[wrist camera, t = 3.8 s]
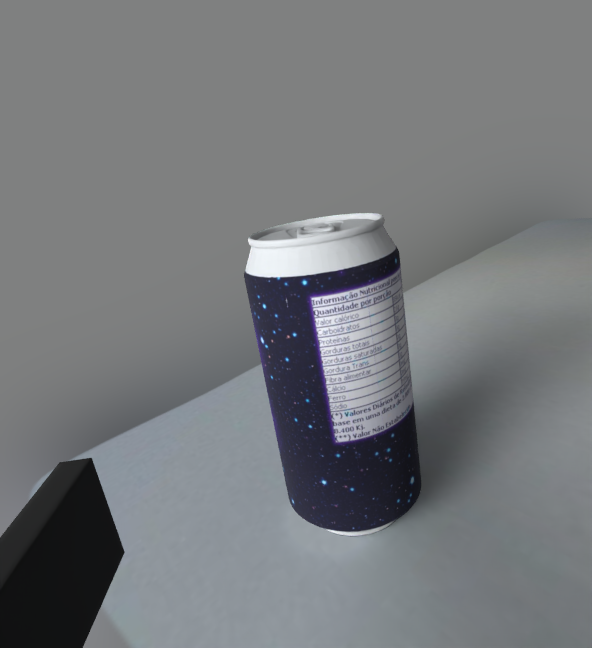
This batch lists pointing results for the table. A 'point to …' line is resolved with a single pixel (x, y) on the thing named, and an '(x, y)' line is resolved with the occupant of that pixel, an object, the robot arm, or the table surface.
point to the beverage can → (337, 368)
